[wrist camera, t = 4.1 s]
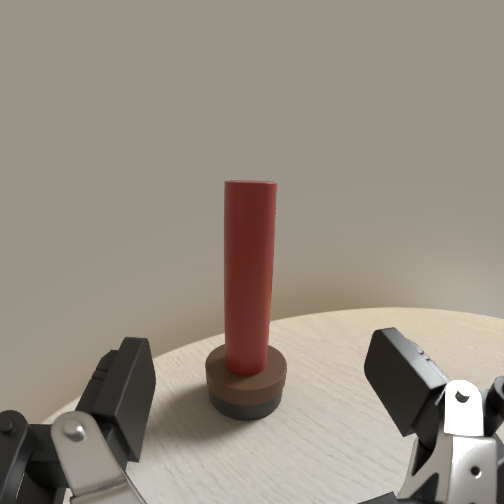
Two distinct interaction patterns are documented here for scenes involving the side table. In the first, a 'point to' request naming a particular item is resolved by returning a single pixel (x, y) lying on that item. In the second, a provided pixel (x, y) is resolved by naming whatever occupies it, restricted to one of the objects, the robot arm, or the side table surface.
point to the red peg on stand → (247, 307)
